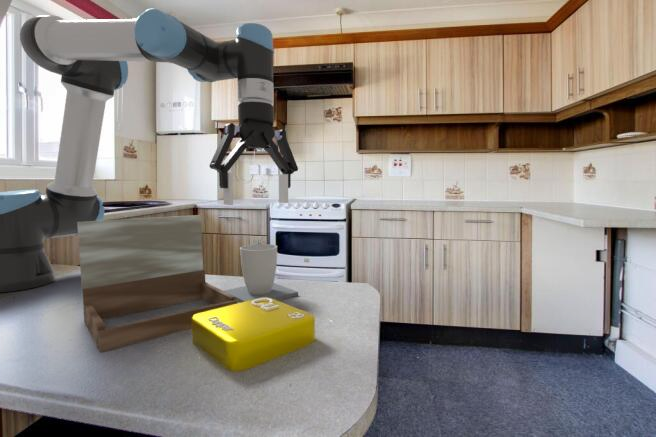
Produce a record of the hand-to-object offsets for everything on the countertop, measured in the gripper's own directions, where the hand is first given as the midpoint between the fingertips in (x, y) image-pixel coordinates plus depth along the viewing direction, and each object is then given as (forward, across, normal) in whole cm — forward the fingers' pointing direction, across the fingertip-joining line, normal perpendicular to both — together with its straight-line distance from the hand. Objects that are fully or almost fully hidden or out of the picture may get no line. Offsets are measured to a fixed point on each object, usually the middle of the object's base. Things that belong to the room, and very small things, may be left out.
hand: (257, 203), depth 79 cm
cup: (+20, 0, 0) cm, 20 cm away
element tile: (+21, -13, -20) cm, 32 cm away
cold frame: (+20, -21, -1) cm, 29 cm away
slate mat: (+20, 0, 0) cm, 20 cm away
